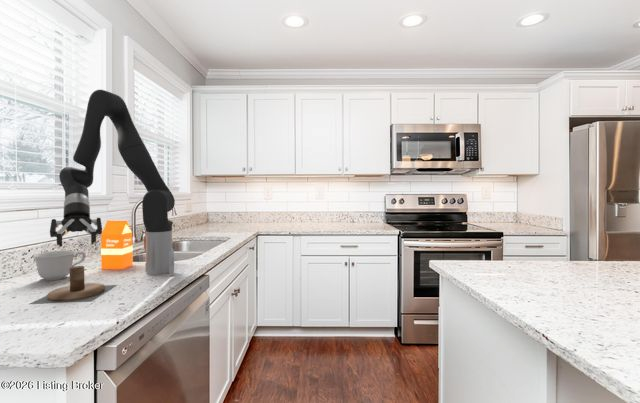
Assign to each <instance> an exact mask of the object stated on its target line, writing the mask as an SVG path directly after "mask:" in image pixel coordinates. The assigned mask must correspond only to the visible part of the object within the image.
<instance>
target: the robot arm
mask: <svg viewBox="0 0 640 403" xmlns="http://www.w3.org/2000/svg"><path fill="white" fill-rule="evenodd" d="M105 117H107V118H109V119H110V121H111V122H112V124H113V126H114V128H115V130H116V133H117V150H118V152H119V154H120V156H121V158H122V160H123V162H124V163H125V165H126V166H127V168H128V169H129V170H130V171H131V173H133V174H134V175H135V176H136V177H137V178H138V180H140V182H141V183H142V184H143V186H144V187H145V189H146V193H145V194H144V196H143V198H142V202H141V204H142V205H141V207H142V208H141V209H142V211H141V212H142V221H143V226H144V227H145V236H146V253H145V274H146V276H162V275H170V274H173V273H174V272H175V250H174V249H175V248H173V224H171V223H170V222H169V220H170V219H169V216H168V215H169V214H168V213H169V212H171V211H172V210H173V209H174V206H175V204H176V203H175V201H176V200H175V198H174V195H173V192H172V191H171V190H170V189H169V187H168V185H166V183H165V181H164V179H163V178H162V176H161V175H160V173H159V170H158V168H157V166H156V165H155V162H154V160H153V158H152V156H151V154H150V152H149V151H148V150H149V149H148V148H147V146H146V144H145V143H144V141H143V139H142V137H141V136H140V134H139V132H138V129H137V128H136V126H135V124H134V121H133V119H132V117H131V114H130V111H129V109H128V106H127V104H126V102H125V100H124V99H123V98H122V97H121V96H120V95H119V94H116V93H113V92H111V91H108V90H104V89H96V90H94V91H93V92H92V93H91V94H90V96H89V97H88V101H87V107H86V112H85V117H84V122H83V129H82V133H81V136H80V139H79V141H78V144H77V147H76V149H75V152H74V154H73V156H72V159H73V162H75V163H76V164H78V165H80V166H82V167H84V168H85V169H81V168H77V167H73V166H65V167H63V168H62V169H61V170H60V172H59V176H58V177H59V181H60V184H61V186H62V188H63V191H64V201H63V219H62V220H57V219H55V218H52V219H51V221H50V228H49V236H50V237H51V238H56V246H59V247H60V248H61V247H63V237H64V236H65V235H67V234H69V233H70V232H71V233H76V232H86V233H87V234H89V235H90V241H91V242H90V243H91V245H94V243H97V235H101V234H102V232H103V227H102V219H101V217H96V218H95V219H92V218H91V210H90V209H91V206H90V205H91V204H90V200H89V188H90V187H91V186H92V185H93V182H94V171H95V164H96V161H97V159H98V157H99V154H100V151H101V148H102V137H101V128H102V124H103V121H104V119H105ZM92 224H93V225H94V226H96V228H94V227H93V226H92ZM60 225H62V226H61V228H60V229H59V230H58V231H57V228H58V227H60Z"/></svg>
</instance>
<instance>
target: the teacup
mask: <svg viewBox="0 0 640 403" xmlns="http://www.w3.org/2000/svg"><path fill="white" fill-rule="evenodd" d="M79 255H82V258H81V259H80V260H79V261H77V262H74V258H75V259H77V257H78V256H79ZM32 257H33V258H34V259H35V262H36V268H37V269H36V270H37V273H38V275H39V277H40V278H41V279H43V280H45V281H57V280H58V281H59V280H61V279H62V280H63V279H65V278H66V277H67V276H69V275H70V267H75V266H78V265H80V264H81V263H83V262H84V261H85V259H86V254H85V252H84V251H81V250H80V251H77V252H76V251H75V250H52V251H44V252H39V253H35V254H33V255H32ZM73 262H74V263H73Z"/></svg>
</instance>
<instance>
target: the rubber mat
mask: <svg viewBox="0 0 640 403" xmlns="http://www.w3.org/2000/svg"><path fill="white" fill-rule="evenodd" d="M104 285H105V291H104V292H102V293H100V294H98V295H95V296H92V297H89V298H84V299H79V300H72V301H50V300H48V294H47V295H45V296H43V297H40V298H38V299H36V300H34V301H32V302H30V303H29V305H40V304H60V303H62V304H64V303H86V302H87V303H88V302H93V301H95V300H97V299H98V298H99V297H101V296H103V295H104V294H106V293H107V292H109V291H112V289H114V288H115V287H117V286H118V284H107V285H106V284H104Z"/></svg>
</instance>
